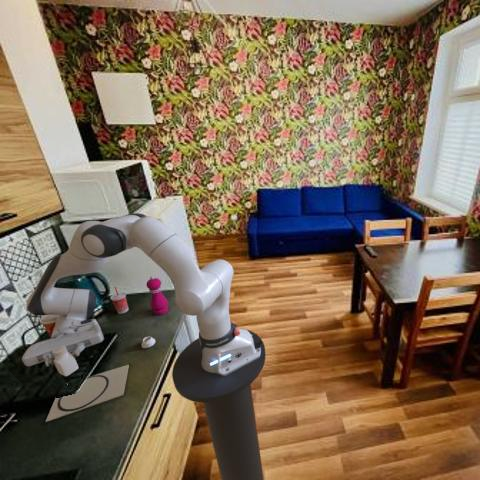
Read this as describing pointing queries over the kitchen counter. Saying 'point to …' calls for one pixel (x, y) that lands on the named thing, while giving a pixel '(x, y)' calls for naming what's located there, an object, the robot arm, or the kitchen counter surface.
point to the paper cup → (49, 322)
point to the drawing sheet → (91, 393)
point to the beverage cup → (120, 302)
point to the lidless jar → (148, 342)
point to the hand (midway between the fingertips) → (62, 359)
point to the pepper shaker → (64, 361)
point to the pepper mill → (157, 296)
